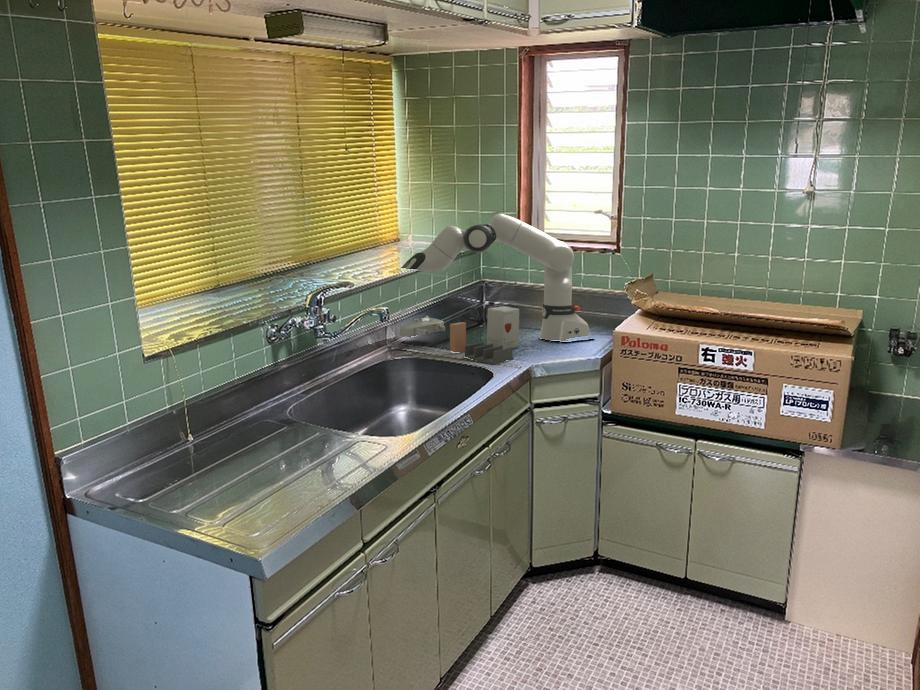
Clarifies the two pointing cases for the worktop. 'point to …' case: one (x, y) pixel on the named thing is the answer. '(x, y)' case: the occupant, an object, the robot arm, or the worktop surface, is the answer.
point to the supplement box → (503, 327)
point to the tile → (458, 337)
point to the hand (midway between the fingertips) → (435, 330)
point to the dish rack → (488, 353)
